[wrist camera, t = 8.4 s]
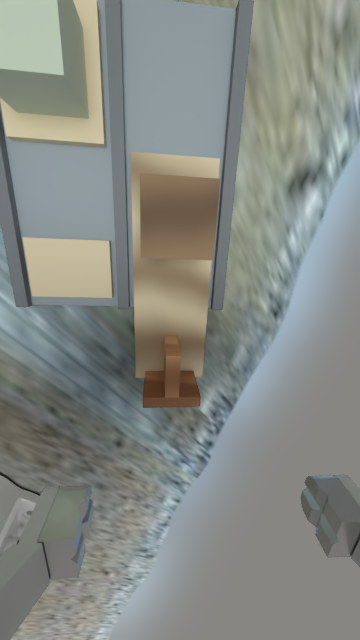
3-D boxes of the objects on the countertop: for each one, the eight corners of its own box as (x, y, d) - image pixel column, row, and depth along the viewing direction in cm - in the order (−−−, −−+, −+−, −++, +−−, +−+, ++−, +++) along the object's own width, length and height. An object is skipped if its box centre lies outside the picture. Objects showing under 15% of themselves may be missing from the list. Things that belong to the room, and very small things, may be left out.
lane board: (217, 305, 25) (222, 309, 23) (26, 302, 23) (16, 306, 22) (244, 23, 18) (254, 0, 16) (-28, -14, 16) (-50, -44, 14)
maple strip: (200, 374, 26) (210, 406, 21) (136, 375, 26) (131, 408, 21) (217, 161, 20) (237, 136, 15) (131, 154, 19) (122, 126, 14)
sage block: (89, 118, 18) (63, 75, 13) (16, 112, 17) (-37, 64, 12) (82, 27, 16) (51, -61, 11) (3, 17, 15) (-65, -79, 11)
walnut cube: (201, 255, 21) (213, 260, 17) (144, 253, 21) (140, 257, 16) (205, 192, 20) (220, 178, 15) (144, 189, 19) (139, 173, 14)
